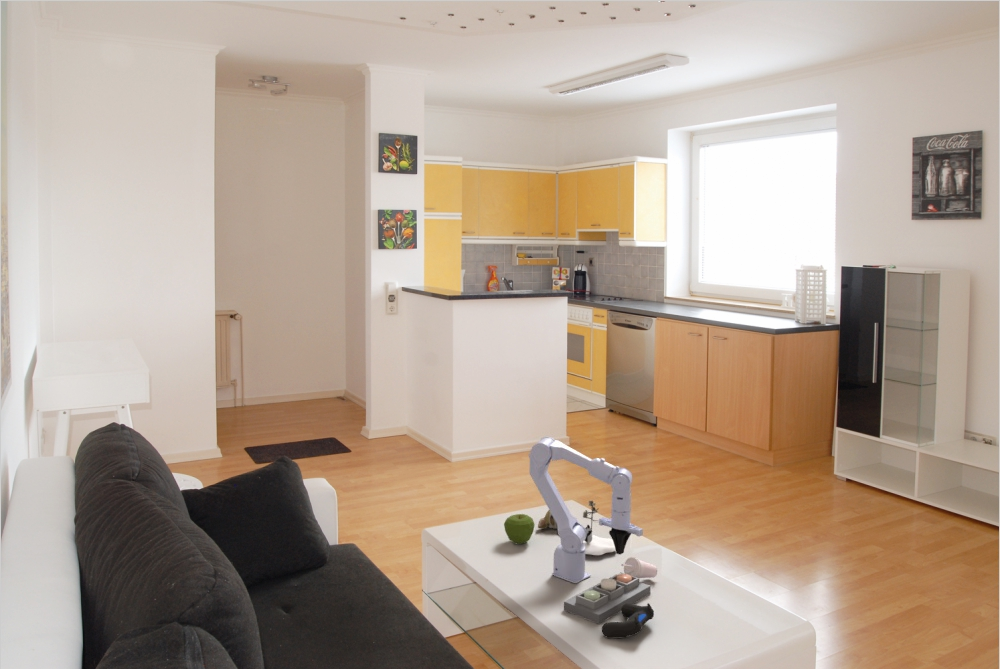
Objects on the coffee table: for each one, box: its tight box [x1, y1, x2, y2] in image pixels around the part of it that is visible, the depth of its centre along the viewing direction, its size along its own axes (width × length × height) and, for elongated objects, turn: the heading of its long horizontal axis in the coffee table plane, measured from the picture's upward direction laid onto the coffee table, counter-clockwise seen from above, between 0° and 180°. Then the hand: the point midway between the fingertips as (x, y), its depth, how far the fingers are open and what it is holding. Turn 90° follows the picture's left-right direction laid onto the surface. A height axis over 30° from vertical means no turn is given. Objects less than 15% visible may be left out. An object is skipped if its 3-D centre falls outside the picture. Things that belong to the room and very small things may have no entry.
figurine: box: [582, 499, 616, 556], centre depth 264 cm, size 20×18×16 cm
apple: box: [503, 513, 535, 545], centre depth 269 cm, size 11×10×10 cm
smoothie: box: [621, 556, 658, 579], centre depth 236 cm, size 6×6×14 cm
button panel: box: [563, 572, 652, 625], centre depth 223 cm, size 12×26×4 cm, turn 137°
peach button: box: [617, 573, 632, 584], centre depth 229 cm, size 4×4×2 cm
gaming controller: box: [601, 603, 655, 639], centre depth 207 cm, size 17×6×10 cm
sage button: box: [584, 591, 600, 601], centre depth 217 cm, size 4×4×2 cm
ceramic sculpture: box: [537, 509, 558, 530], centre depth 284 cm, size 11×9×15 cm
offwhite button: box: [600, 578, 616, 592], centre depth 223 cm, size 4×4×2 cm
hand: (619, 553), depth 236 cm, fingers closed
